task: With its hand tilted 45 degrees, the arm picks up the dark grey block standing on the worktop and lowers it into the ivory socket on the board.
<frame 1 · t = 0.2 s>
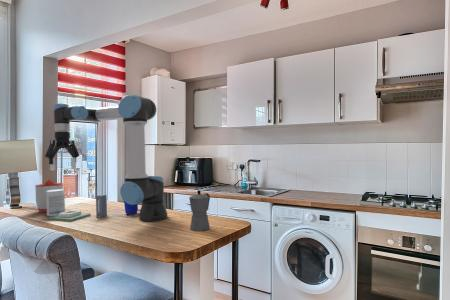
hand: (63, 169, 169), 27 cm above the table, tool pointing down, fingers open, 13 cm apart
coffeepot: (201, 228, 142), on the table
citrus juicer: (50, 211, 193), on the table
dark grey block: (101, 215, 174), on the table
mug: (134, 213, 178), on the table
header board: (70, 217, 171), on the table
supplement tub: (56, 215, 180), on the table
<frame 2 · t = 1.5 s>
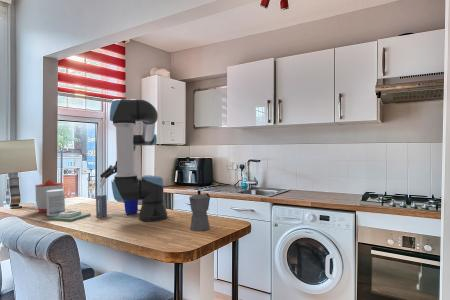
hand: (110, 187, 183), 15 cm above the table, tool tilted 45°, fingers open, 13 cm apart
nothing on the table moved.
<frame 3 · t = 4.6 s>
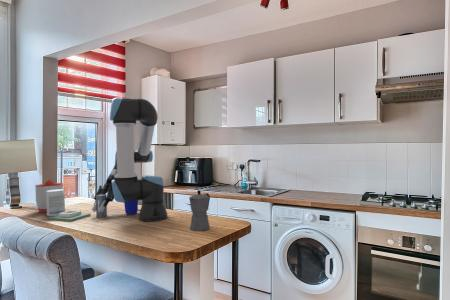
hand: (97, 210, 170), 4 cm above the table, tool tilted 45°, fingers closed on dark grey block, 4 cm apart
dark grey block: (101, 215, 174), on the table, touching gripper
everything else where it was.
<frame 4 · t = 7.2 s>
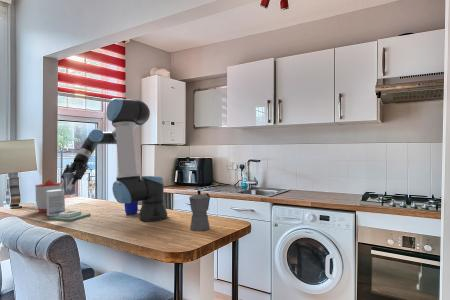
hand: (64, 188, 167), 17 cm above the table, tool tilted 45°, fingers closed on dark grey block, 4 cm apart
dark grey block: (69, 194, 171), point 13 cm above the table, touching gripper
everything else where it was.
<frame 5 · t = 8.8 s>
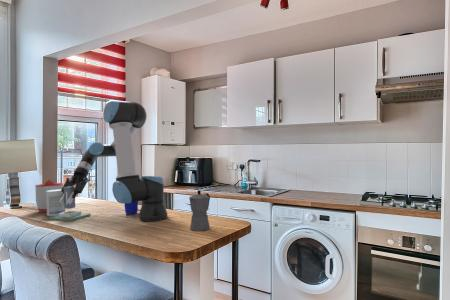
hand: (65, 202, 168), 9 cm above the table, tool tilted 45°, fingers closed on dark grey block, 4 cm apart
dark grey block: (69, 208, 171), point 5 cm above the table, touching gripper
everything else where it was.
when the fingers open (6 cm above the table, at t = 9.9 s): dark grey block drops 1 cm, resting on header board.
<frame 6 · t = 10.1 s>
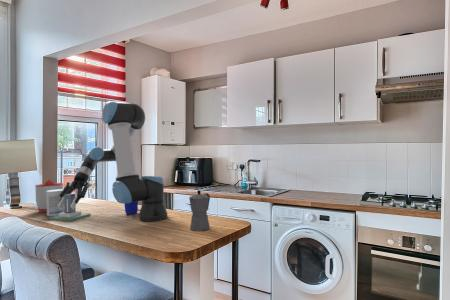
hand: (65, 207, 168), 6 cm above the table, tool tilted 45°, fingers open, 7 cm apart
dark grey block: (70, 215, 171), point 1 cm above the table, touching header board
everything else where it was.
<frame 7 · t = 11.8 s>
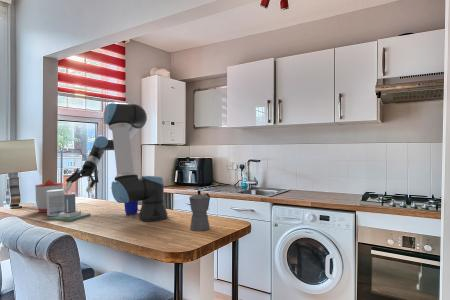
hand: (76, 191, 177), 14 cm above the table, tool tilted 45°, fingers open, 13 cm apart
nothing on the table moved.
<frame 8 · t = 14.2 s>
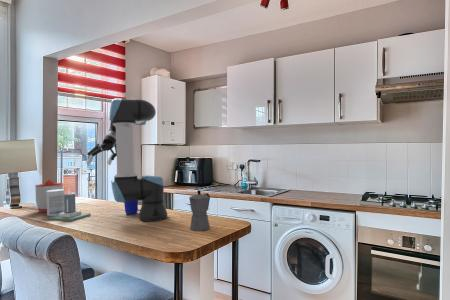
hand: (98, 163, 181), 30 cm above the table, tool tilted 45°, fingers open, 13 cm apart
nothing on the table moved.
at the end: dark grey block 0.1 cm off-centre on the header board, point 1.3 cm above the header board's base; dark grey block tilted 0°; the gripper is holding nothing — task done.
